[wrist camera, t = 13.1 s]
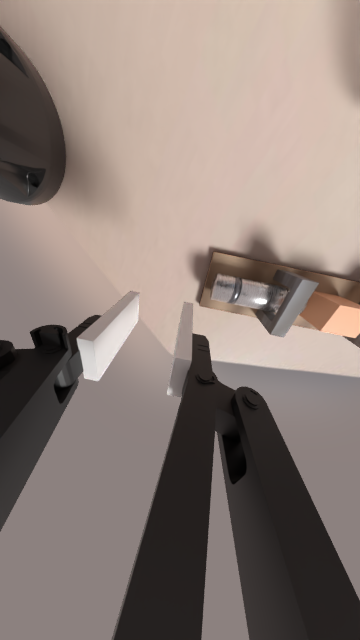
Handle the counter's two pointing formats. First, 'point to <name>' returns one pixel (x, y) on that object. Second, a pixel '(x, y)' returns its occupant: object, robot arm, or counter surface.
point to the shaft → (248, 293)
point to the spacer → (333, 314)
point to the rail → (278, 275)
